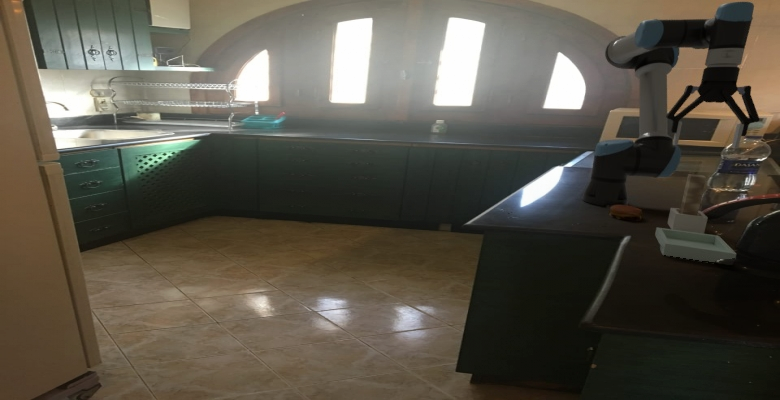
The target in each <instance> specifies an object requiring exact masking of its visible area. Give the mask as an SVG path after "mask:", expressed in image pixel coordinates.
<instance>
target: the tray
mask: <svg viewBox="0 0 780 400" xmlns="http://www.w3.org/2000/svg"><path fill="white" fill-rule="evenodd" d="M654 236H655V238H656V239H657V240H656V241H658V244H657V246H658V248H659V250H660V252H661V254H662V256H664V255H666V256H665V257H670V256H673V257H672V258H676V257H680V258H679V259H683V258H686V259H685V260H689V259H693V260H692V261H695V260H699V261H698V262H702V261H709V262H715V261H717V260H720V259H732V258H735V259H736V258H737V253H736V251H734V250H733V249H732V248H731V247H730V246H729V244H727V243H726V242H725V241H724V239H722V238H721V236H720V235H715V234H707V233H704V234H702V233H695V232H687V231H680V230H672V229H671V228H664V227H663V228H662V227H657V226H656V228H655V232H654Z"/></svg>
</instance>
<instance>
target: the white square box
mask: <svg viewBox="0 0 780 400" xmlns="http://www.w3.org/2000/svg"><path fill="white" fill-rule="evenodd" d="M680 209H681V208H677V207H670V209H669V210H670V211H669V214H668V218H667V219H668V220H667V225H668V226H669V229H672V230H680V231H687V232H695V233H702V234H705V232H706V227H707V222H708V216H707V215H706V214H705V213H704V212H702V210H698V214H697V216H696V215H687V214H679V213H680Z"/></svg>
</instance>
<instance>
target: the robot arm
mask: <svg viewBox="0 0 780 400" xmlns="http://www.w3.org/2000/svg"><path fill="white" fill-rule="evenodd" d="M754 7H755V5H754V3H753V2H752V1H751V2H749V1H735V2H734V1H733V2H727V3H723V4H720V5H719V6H718V7H717V9H716V12H715V14H714V17H713V18H696V19H694V18H693V19H691V18H690V19H659V18H658V19H657V18H654V19H646V20H642V21H640V23H639V24H638V26H637V28H636V30H635V32H632V33H631V34H629V35H622V36H618V37H616V38H614V39H613V40H611V41H610V42H609V43H608V44H607V46H606V49H605V51H604V52H605V53H604V54H605V55H604V56H605V60H606V62H608V63H609V65H611V66H612V67H615V68H618V69H623V70H634V76H635V78H638V79H639V84H638V85H639V86H638V87H639V99H638V100H639V102H638V103H639V110H638V111H639V114H638V115H639V118H638V119H639V121H638V123H639V125H638V127H639V132H638V133H639V136H638V138H636V139H635V141H634V140H632V139H628V138H626V139H622V138H619V139H606V140H605V139H604V140H602V141H599V142H598V143H597V144H596V145H595V150H594V153H593V163H592V169H591V175H590V181H589V182H588V184H587V185H586V188H585V189H584V192H583V194H582V198H581V199H582V201H584V202H585V203H588V204H591V205H595V206H596V205H597V206H601V207H606V206H607V205H610V206H613V205H628V203H629V195H628V188H627V185H626V184H627V178H628V177H646V178H655V179H657V178H669V177H671V176H672V175H673V174H674V173H675V172H676V171H677V168H678V167H679V165H680V162H681V159H682V150H681V148H680V146H678V144H679V140H680V135H681V130H682V125H683V121H680V120H681V119H683V118H684V117H685V116H687V115H688V114H689V113H690V112H692V111H693V110H694V109H695V108H697V107H698V106H700V105H701V104H702V103H704V102H705V103H716V104H717V103H718V104H721V103H725V104H726V105H727V106H728V107H729V108H730V110H731V111H732V113H733V114H734V115H735V116H736V118H737V119H738V121H740V123H737V124H736V127H735V132H734V135H733V138H732V139H733V140H732V143H731V149H735V150H737V149H739V147H740V143H741V138H742V137H746V136H747V132H748V129H749V125H751V124H753V123H758V122H759V121H760V117H759V114H758V111H757V109H756V105H755V103H754V100H753V97H752V95H751V94H752V93H751V92H752V86H751V85H744V86H737V85H738V84H737V83H738V78H739V74H740V70H741V68H740V67H738V66H741V65H742V61H743V58H744V57H743V56H744V54H745V53H744V52H745V49H746V44H747V41H748V36H749V33H750V29H751V25H752V21H753V19H754V17H753V15H754ZM680 48H683V49H684V48H685V49H688V48H689V49H690V48H692V49H694V50H705V49H707V54H706V59H705V62H704V65H705V66H706V67H705V68H704V69H703V71H702V77H701V81H700V84H699V85H698V86H696V85H692V84H690V85H686V86H685V89H684V91H683V94H682V95H681V97H679V99H678V100H677V101H676V102H675V104H673V107H672V108H671V109H670V110H669V111H668V74H670V72H671V71H672V69H674V68H675V67H676V65H677V63H678V61H679V56H680ZM696 91H697V93H698V97H696V98H695V100H694V101H692V102H691V103H690V104H689V105H687V106H686V107H684V108H683V109H682V110H681V111H680V112H679V113H678V114H677V112H678V111H679V110H680V109H681V107H682V106H683V105H684V104H685V102H686V101H687V100H688V99H689V97H690V96H691V94H692V95H693V94H695V92H696ZM735 93H738V94H739V95H740V96H741V98H742V99H741V100H742V102H743V105H744V107H745V109H746V112H747V115H748V116H747V115H746V113H745V112H744V111H743V110H742V109H741V107H740V106H739V105H738V103H737V102H736V100H735V99H734V97H733V95H735ZM668 120H671V121H672V124H671V128H670V132H671V133H672V134H674V135H673V137H671V136H670V135H669V134H668Z"/></svg>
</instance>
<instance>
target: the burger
mask: <svg viewBox="0 0 780 400" xmlns="http://www.w3.org/2000/svg"><path fill="white" fill-rule="evenodd" d="M642 214H643V210H642V209H641V208H638V207H636V206H633V205H610V207H609V213H608V215H609V216H610V217H611V218H613V219H618V220H622V221H626V222H628V221H629V222H641V221H642V220H643V219H642Z"/></svg>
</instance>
